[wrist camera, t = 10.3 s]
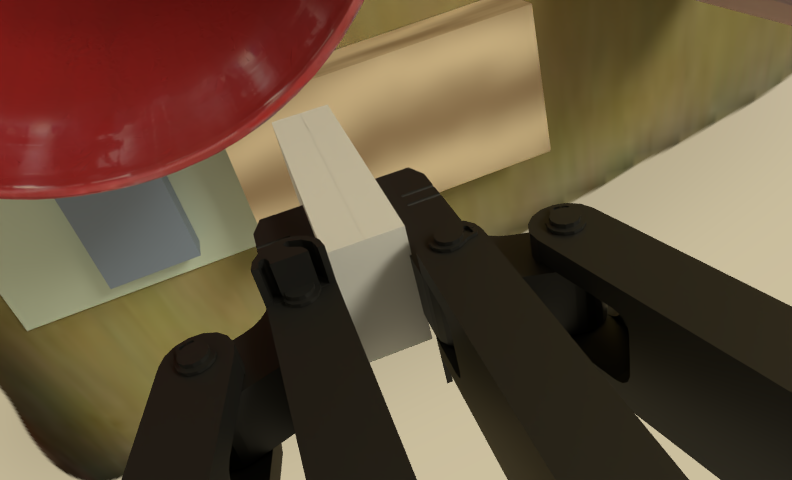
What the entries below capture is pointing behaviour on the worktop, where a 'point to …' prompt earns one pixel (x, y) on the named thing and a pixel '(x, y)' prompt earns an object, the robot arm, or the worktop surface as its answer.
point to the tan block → (419, 103)
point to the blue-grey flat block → (132, 230)
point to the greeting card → (759, 8)
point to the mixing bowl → (146, 84)
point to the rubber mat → (74, 268)
